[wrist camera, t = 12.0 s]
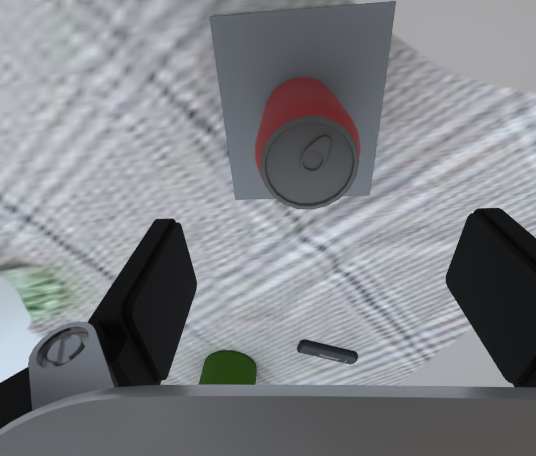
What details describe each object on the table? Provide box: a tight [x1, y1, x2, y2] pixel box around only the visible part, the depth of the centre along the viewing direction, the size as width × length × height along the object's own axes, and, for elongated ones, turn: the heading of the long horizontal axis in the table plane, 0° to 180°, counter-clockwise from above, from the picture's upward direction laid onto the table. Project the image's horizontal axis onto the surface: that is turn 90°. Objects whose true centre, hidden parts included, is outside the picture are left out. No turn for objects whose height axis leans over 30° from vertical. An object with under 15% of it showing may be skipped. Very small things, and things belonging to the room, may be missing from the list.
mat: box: [210, 1, 396, 200], centre depth 27 cm, size 16×14×1 cm
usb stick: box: [297, 340, 358, 364], centre depth 46 cm, size 10×3×2 cm, turn 73°
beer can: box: [255, 77, 361, 209], centre depth 22 cm, size 7×7×12 cm
